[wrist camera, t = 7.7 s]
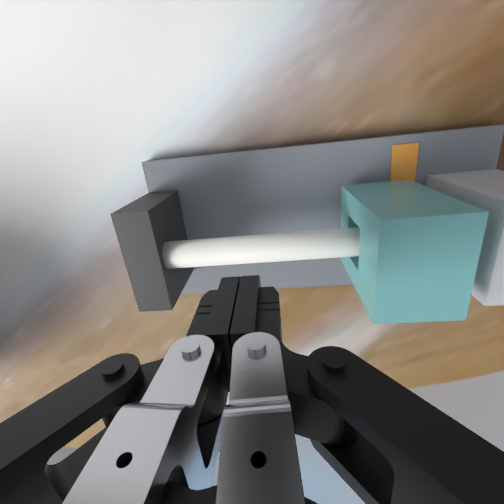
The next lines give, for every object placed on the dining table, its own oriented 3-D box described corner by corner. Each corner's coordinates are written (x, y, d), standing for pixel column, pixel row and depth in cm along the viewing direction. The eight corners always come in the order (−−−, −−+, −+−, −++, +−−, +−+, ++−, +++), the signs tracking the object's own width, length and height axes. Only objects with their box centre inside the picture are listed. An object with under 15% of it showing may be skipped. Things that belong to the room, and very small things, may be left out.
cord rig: (147, 160, 20) (76, 181, 13) (493, 124, 18) (644, 125, 11) (177, 288, 24) (135, 359, 17) (464, 271, 22) (561, 344, 15)
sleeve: (341, 185, 18) (380, 220, 12) (409, 179, 18) (488, 211, 11) (340, 259, 20) (373, 324, 14) (401, 255, 20) (465, 320, 13)
